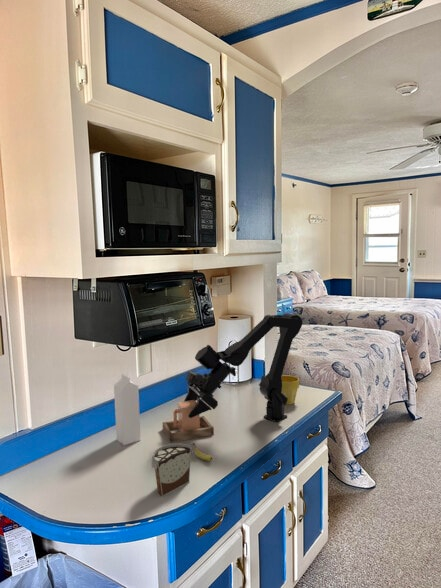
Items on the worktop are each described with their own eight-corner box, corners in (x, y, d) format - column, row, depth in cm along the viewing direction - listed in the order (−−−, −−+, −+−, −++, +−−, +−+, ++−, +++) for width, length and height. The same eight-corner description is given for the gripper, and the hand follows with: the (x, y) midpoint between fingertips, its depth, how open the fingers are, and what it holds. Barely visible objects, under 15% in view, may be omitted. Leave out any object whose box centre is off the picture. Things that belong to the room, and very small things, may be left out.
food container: (178, 472, 124) (177, 438, 123) (193, 480, 120) (192, 445, 119) (143, 490, 115) (141, 454, 114) (157, 499, 111) (156, 461, 110)
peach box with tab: (195, 427, 155) (194, 399, 154) (200, 433, 149) (199, 405, 148) (172, 430, 152) (171, 403, 151) (176, 437, 147) (175, 409, 145)
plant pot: (287, 395, 185) (287, 373, 184) (304, 402, 176) (304, 379, 175) (268, 400, 180) (268, 377, 179) (284, 408, 171) (284, 384, 170)
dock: (204, 422, 159) (203, 416, 158) (213, 434, 148) (213, 427, 148) (162, 429, 154) (162, 422, 153) (169, 442, 143) (169, 434, 143)
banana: (191, 456, 134) (191, 443, 133) (195, 454, 135) (195, 441, 134) (210, 464, 128) (210, 451, 128) (214, 462, 129) (214, 449, 129)
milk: (124, 445, 142) (120, 379, 139) (116, 439, 146) (112, 375, 144) (141, 440, 145) (138, 375, 143) (133, 434, 150) (129, 371, 147)
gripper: (192, 357, 159) (163, 390, 156) (208, 370, 141) (175, 407, 139) (213, 375, 162) (185, 408, 160) (231, 390, 145) (199, 428, 142)
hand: (185, 412), depth 150 cm, fingers open, 9 cm apart
